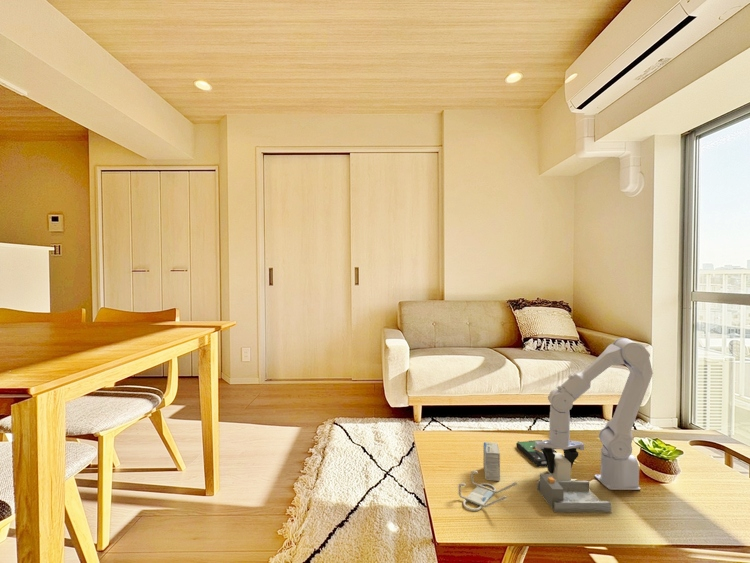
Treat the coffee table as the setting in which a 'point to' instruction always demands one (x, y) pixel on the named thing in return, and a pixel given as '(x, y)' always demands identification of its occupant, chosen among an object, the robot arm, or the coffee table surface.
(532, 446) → the disk drive
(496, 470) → the medicine box
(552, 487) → the block
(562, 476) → the block
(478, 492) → the wall mount rack
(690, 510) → the coffee table surface
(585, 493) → the grey tray
